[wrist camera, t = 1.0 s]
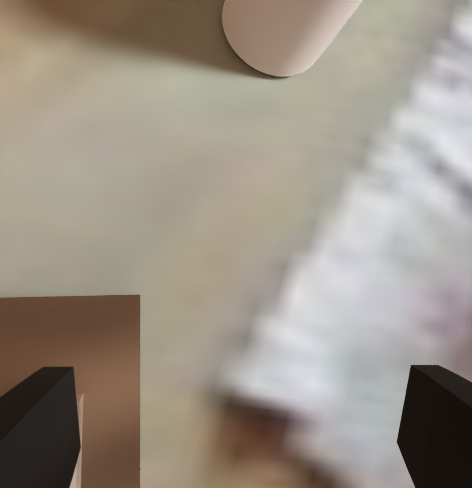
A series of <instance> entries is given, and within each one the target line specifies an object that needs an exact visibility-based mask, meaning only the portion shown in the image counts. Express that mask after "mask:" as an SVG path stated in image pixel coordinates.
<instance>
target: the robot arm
mask: <svg viewBox="0 0 472 488" xmlns="http://www.w3.org/2000/svg"><path fill="white" fill-rule="evenodd" d="M397 444H398V446H399V449H400V451H401V454H402V456H403V459H404V461H405V464H406V467H407V469H408V471H409V474H410V476H411V478H412V481H413V483H414V485H415V488H472V382H470V381H468V380H466V379H464V378H463V377H461V376H459V375H457V374H455V373H453V372H451V371H449V370H447V369H445V368H443V367H441V366H439V365H411V368H410V373H409V379H408V384H407V390H406V395H405V400H404V406H403V411H402V417H401V422H400V428H399V433H398V438H397ZM80 449H81V442H80V432H79V421H78V410H77V399H76V388H75V378H74V367H42V368H40V369H39V370H37V371H36V372H34V373H33V374H31V375H30V376H29V377H27V378H26V379H24V380H23V381H22V382H20V383H19V384H17V385H16V386H15V387H13V388H12V389H11V390H9V391H8V392H7V393H5V394H4V395H2V396H1V397H0V488H70V484H71V481H72V478H73V474H74V471H75V467H76V464H77V460H78V456H79V453H80Z"/></svg>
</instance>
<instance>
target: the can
mask: <svg viewBox="0 0 472 488" xmlns="http://www.w3.org/2000/svg"><path fill="white" fill-rule="evenodd" d="M362 1H363V0H225V2H224V6H223V10H222V24H223V29H224V32H225V35H226V38H227V40H228V42H229V44H230V45H231V47H232V48H233V50H234V51H235V52H236V53H237V55H238V56H239V57H240V58H241V59H242V60H243V61H244V62H245V63H247V64H248V65H249V66H251V67H252V68H254V69H256V70H258V71H260V72H262V73H265V74H269V75H273V76H280V77H287V76H294V75H297V74H300V73H302V72H304V71H306V70H307V69H308V68H310V67H311V66H312V65H313V64H314V63H315V62H316V60H317V59H318V58H319V57H320V56H321V54H322V53H323V52H324V50H325V49H326V48H327V47H328V45H329V44H330V43H331V41H332V40H333V39H334V38H335V36H336V35H337V34H338V32H339V31H340V30H341V28H342V27H343V26H344V25H345V23H346V22H347V21H348V19H349V18H350V17H351V15H352V14H353V13H354V12H355V10H356V9H357V8H358V6H359V5H360V4H361V2H362Z"/></svg>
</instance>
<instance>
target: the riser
mask: <svg viewBox="0 0 472 488" xmlns="http://www.w3.org/2000/svg"><path fill="white" fill-rule="evenodd" d="M42 367H74V378H75V388H76V394H82V393H83V421H82V461H81V488H140V295H105V296H62V297H19V298H0V397H1V396H2V395H4V394H5V393H7V392H8V391H9V390H11V389H12V388H13V387H15V386H16V385H17V384H19V383H20V382H22V381H23V380H24V379H26V378H27V377H29V376H30V375H31V374H33V373H34V372H36V371H37V370H39V369H40V368H42Z"/></svg>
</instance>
